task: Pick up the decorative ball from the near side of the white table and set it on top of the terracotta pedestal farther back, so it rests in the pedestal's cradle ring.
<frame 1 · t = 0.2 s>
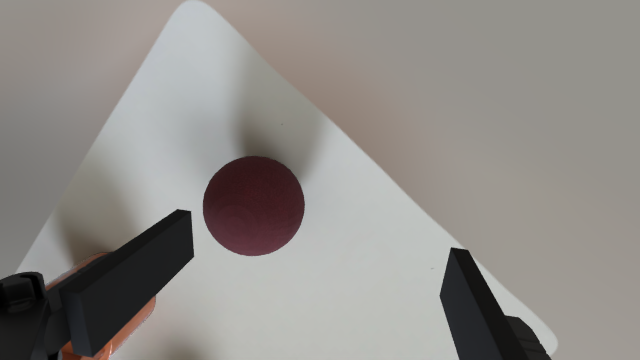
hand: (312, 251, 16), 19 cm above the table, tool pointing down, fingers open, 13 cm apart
pedestal: (117, 289, 45), on the table
decorative ball: (271, 188, 36), on the table
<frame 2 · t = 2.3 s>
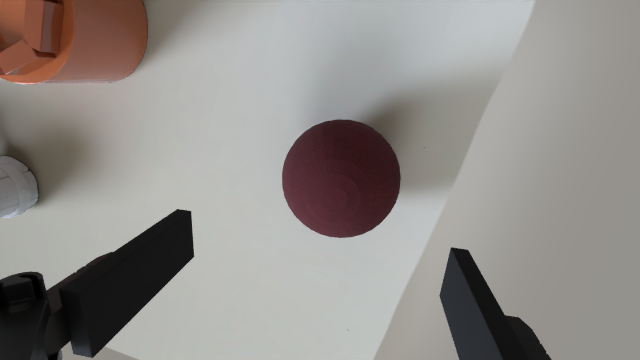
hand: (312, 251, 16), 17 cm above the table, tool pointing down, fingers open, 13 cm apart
mug: (4, 169, 39), on the table
pedestal: (93, 20, 31), on the table
decorative ball: (345, 163, 32), on the table
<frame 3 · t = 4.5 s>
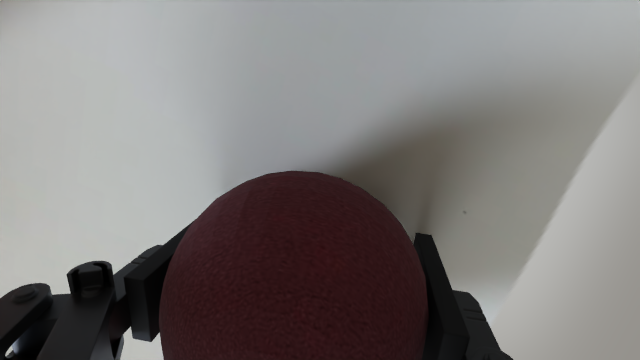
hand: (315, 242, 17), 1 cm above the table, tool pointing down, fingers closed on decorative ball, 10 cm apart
decorative ball: (318, 233, 17), on the table, touching gripper
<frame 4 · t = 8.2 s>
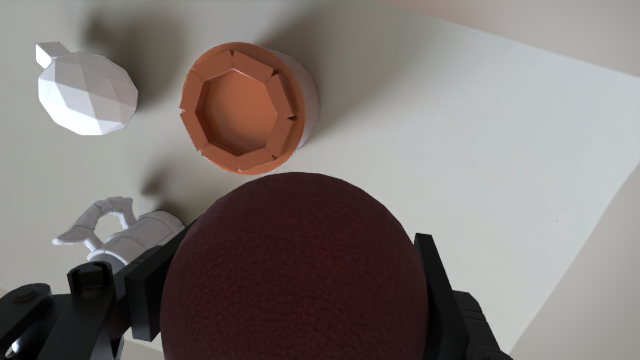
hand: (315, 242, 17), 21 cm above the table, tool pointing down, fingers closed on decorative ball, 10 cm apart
mug: (157, 221, 44), on the table
perfume bottle: (115, 82, 39), on the table
pedestal: (269, 105, 36), on the table
decorative ball: (319, 234, 17), point 20 cm above the table, touching gripper
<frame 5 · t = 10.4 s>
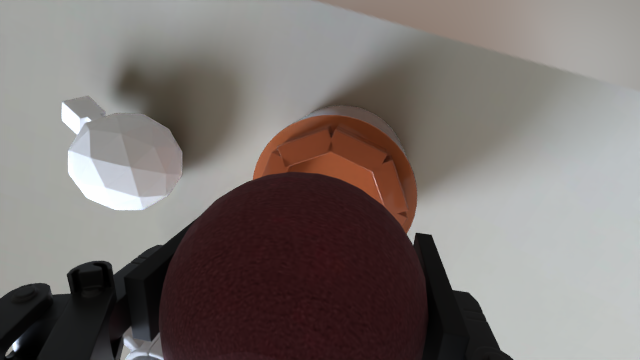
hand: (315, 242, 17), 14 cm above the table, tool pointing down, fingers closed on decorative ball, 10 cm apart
mug: (197, 291, 38), on the table
perfume bottle: (152, 138, 32), on the table
pedestal: (341, 168, 30), on the table
decorative ball: (318, 234, 17), point 13 cm above the table, touching gripper
when the fingers open (10 cm above the table, at t = 12.1 s): decorative ball stays where it is, resting on pedestal.
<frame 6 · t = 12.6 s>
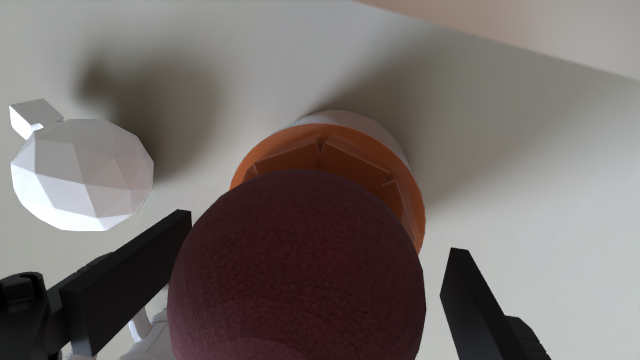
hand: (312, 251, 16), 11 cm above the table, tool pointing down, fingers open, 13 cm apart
mug: (176, 316, 34), on the table
perfume bottle: (121, 147, 29), on the table
pedestal: (335, 182, 26), on the table
decorative ball: (319, 230, 18), point 9 cm above the table, touching pedestal
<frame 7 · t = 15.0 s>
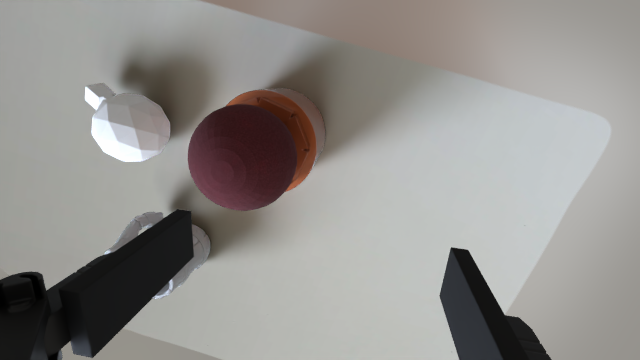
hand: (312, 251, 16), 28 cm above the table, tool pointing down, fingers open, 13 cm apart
mug: (183, 232, 50), on the table
perfume bottle: (148, 114, 45), on the table
pedestal: (282, 133, 43), on the table
decorative ball: (262, 146, 35), point 9 cm above the table, touching pedestal
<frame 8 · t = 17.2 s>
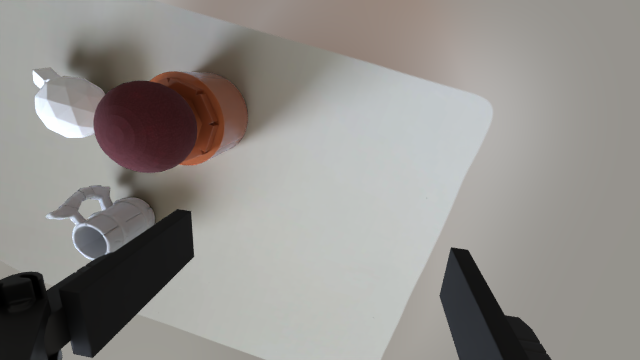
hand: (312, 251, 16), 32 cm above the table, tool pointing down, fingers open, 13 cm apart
mug: (130, 205, 55), on the table
perfume bottle: (94, 97, 50), on the table
pedestal: (210, 114, 48), on the table
decorative ball: (176, 121, 39), point 9 cm above the table, touching pedestal
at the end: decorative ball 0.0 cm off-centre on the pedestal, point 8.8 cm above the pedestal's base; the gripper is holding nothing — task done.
